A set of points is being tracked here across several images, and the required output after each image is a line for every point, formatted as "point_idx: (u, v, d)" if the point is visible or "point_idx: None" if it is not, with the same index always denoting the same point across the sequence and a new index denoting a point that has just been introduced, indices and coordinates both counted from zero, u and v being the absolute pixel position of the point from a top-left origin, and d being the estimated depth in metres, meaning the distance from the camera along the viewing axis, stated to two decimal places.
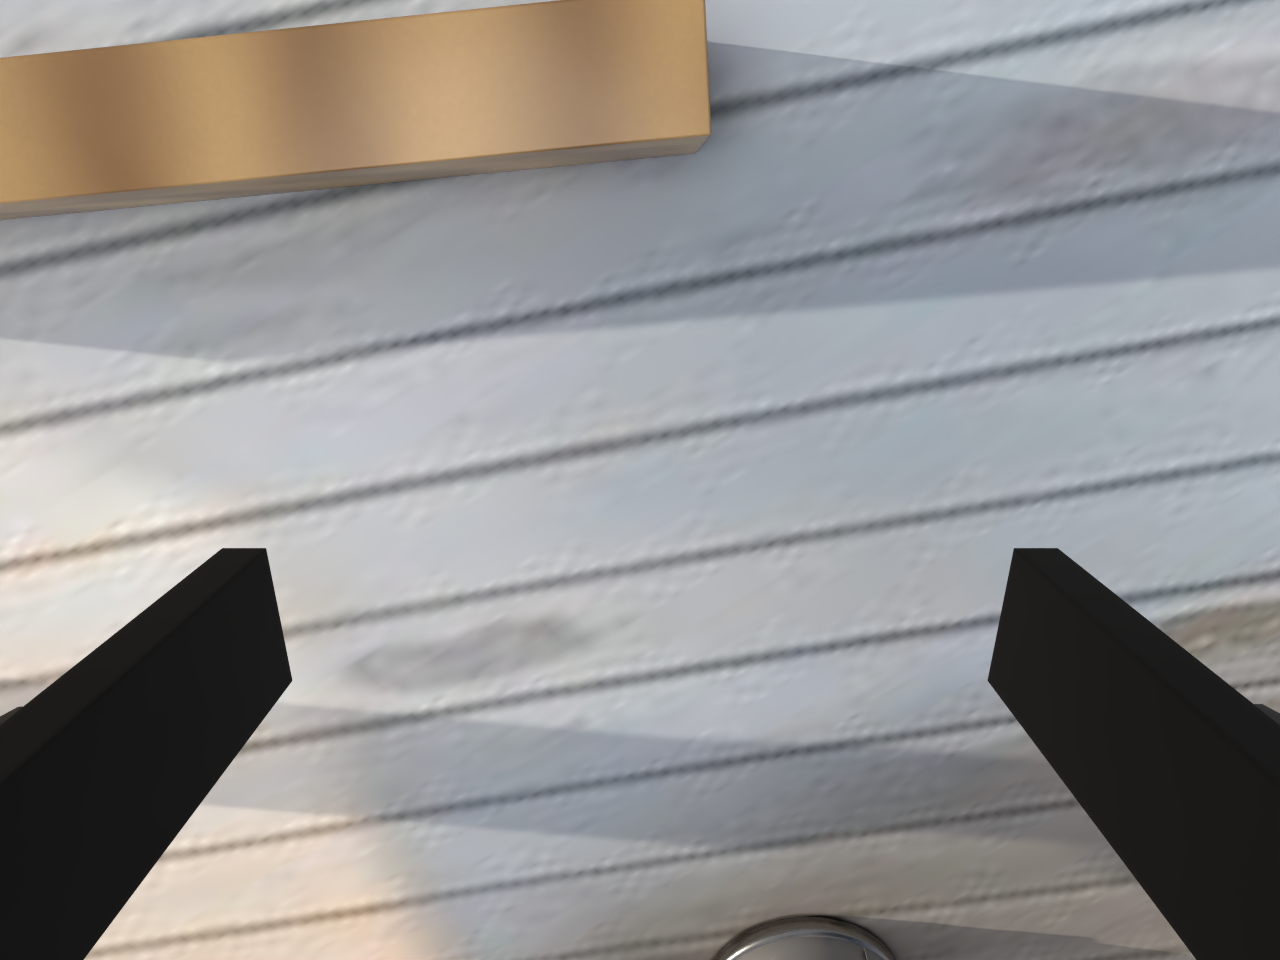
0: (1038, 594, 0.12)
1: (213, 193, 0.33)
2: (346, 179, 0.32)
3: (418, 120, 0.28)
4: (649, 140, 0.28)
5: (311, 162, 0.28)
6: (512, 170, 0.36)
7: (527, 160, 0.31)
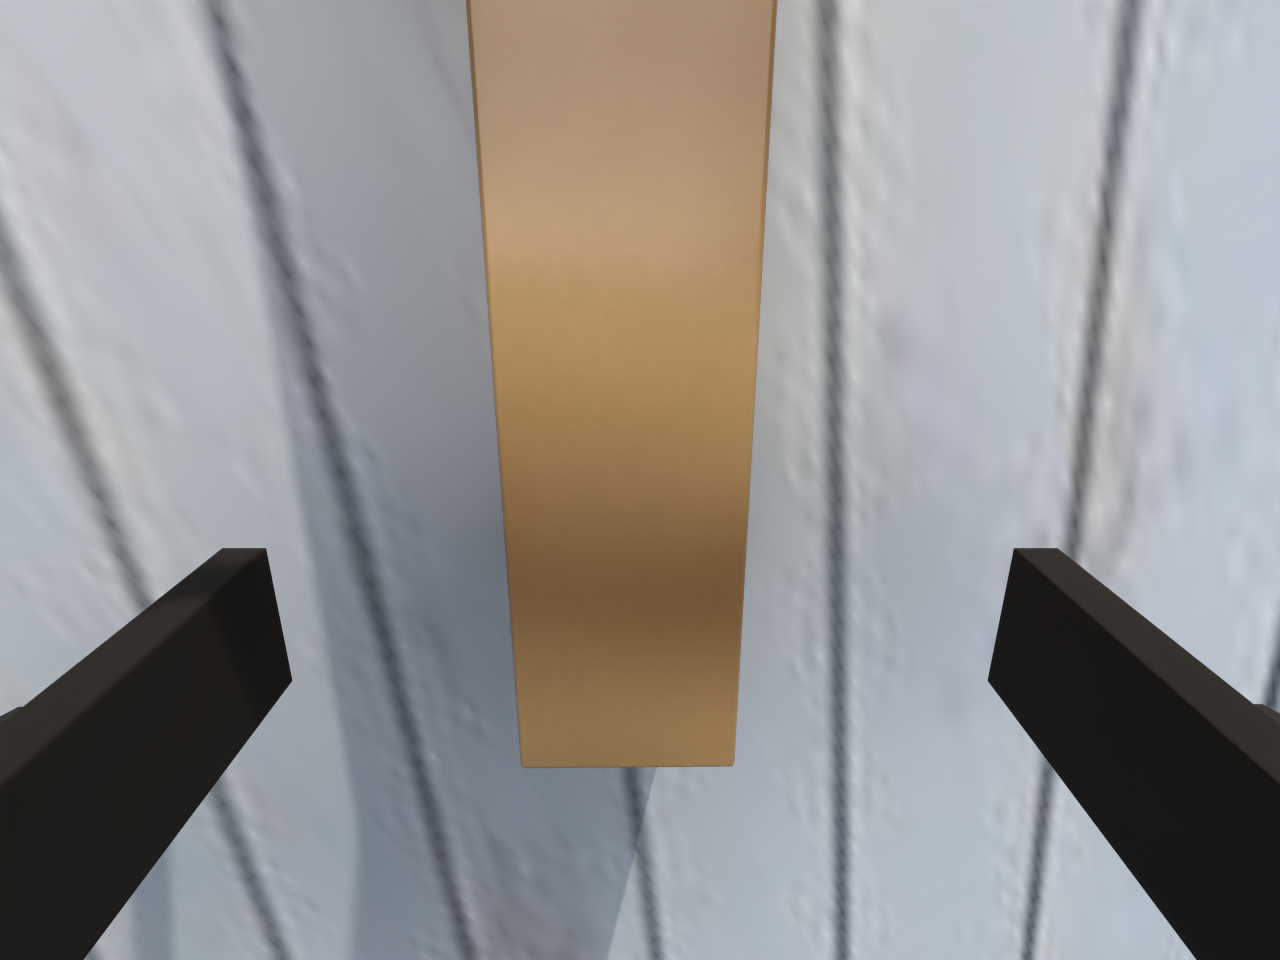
0: (1037, 594, 0.12)
1: None
2: None
3: (568, 265, 0.13)
4: (516, 680, 0.16)
5: None
6: None
7: None
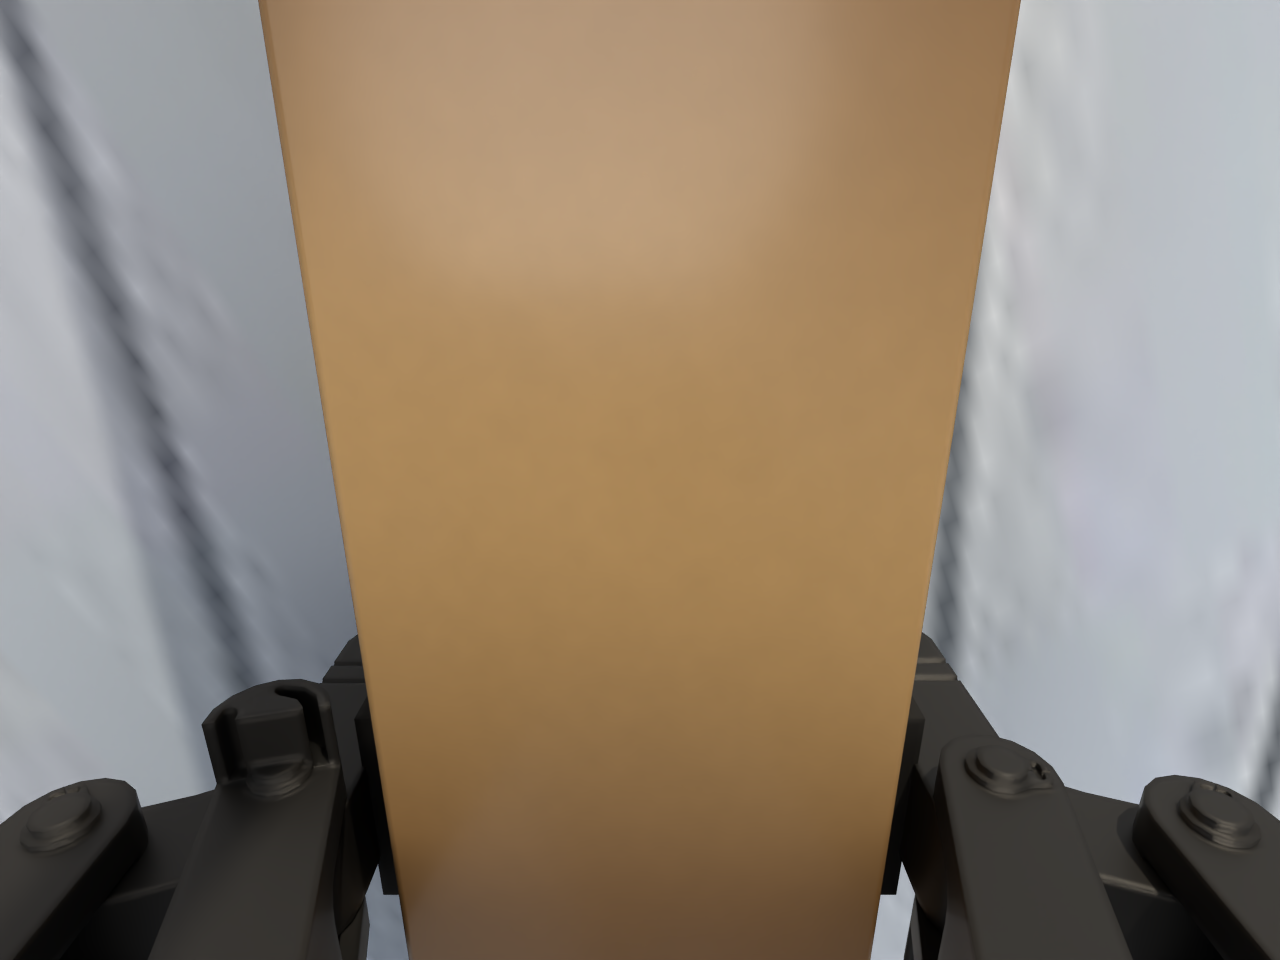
0: None
1: None
2: None
3: (507, 337, 0.05)
4: None
5: None
6: None
7: None
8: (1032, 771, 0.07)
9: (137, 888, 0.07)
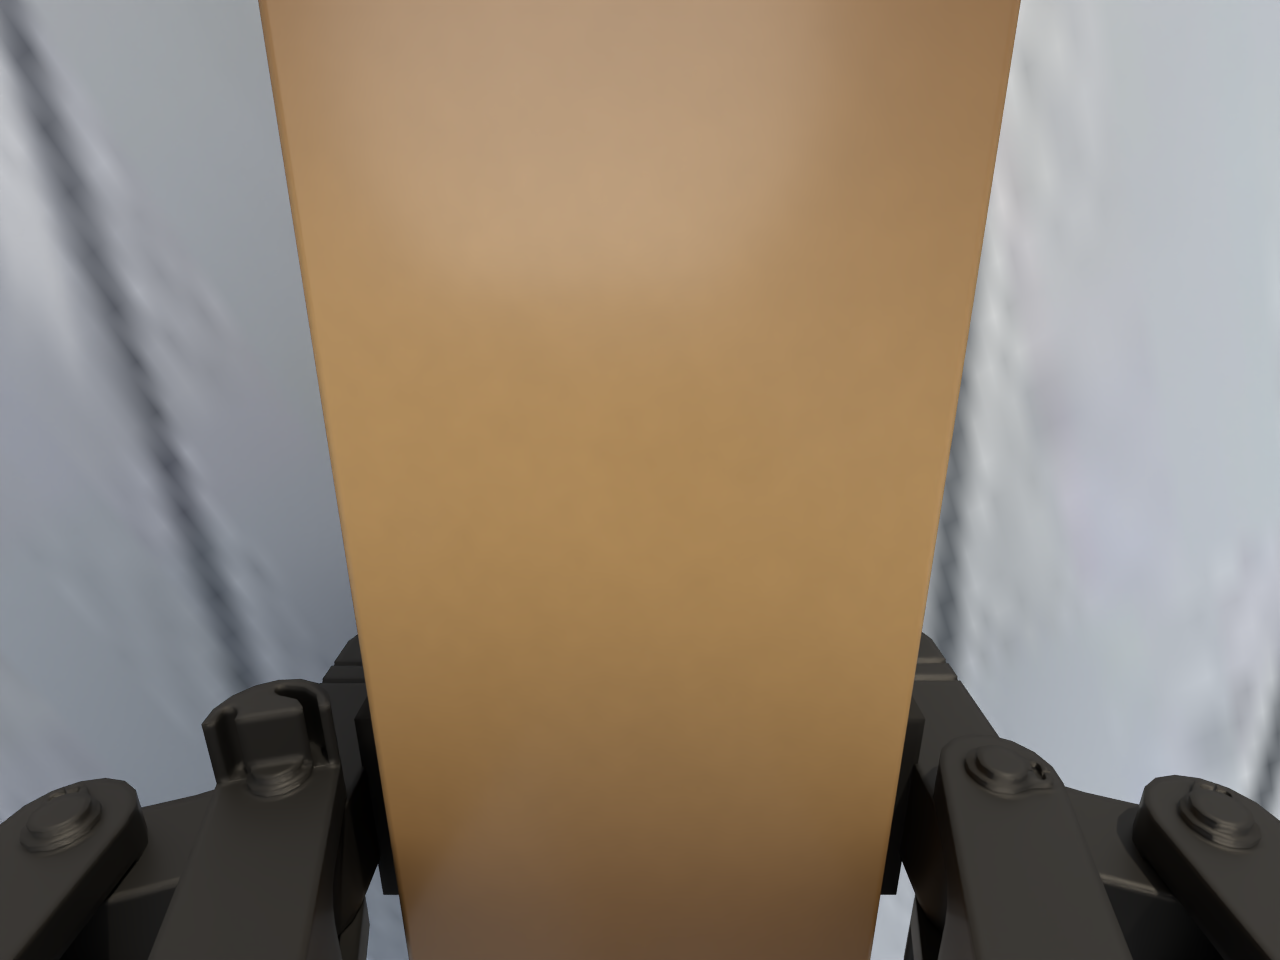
0: None
1: None
2: None
3: (507, 337, 0.05)
4: None
5: None
6: None
7: None
8: (1032, 771, 0.07)
9: (137, 888, 0.07)
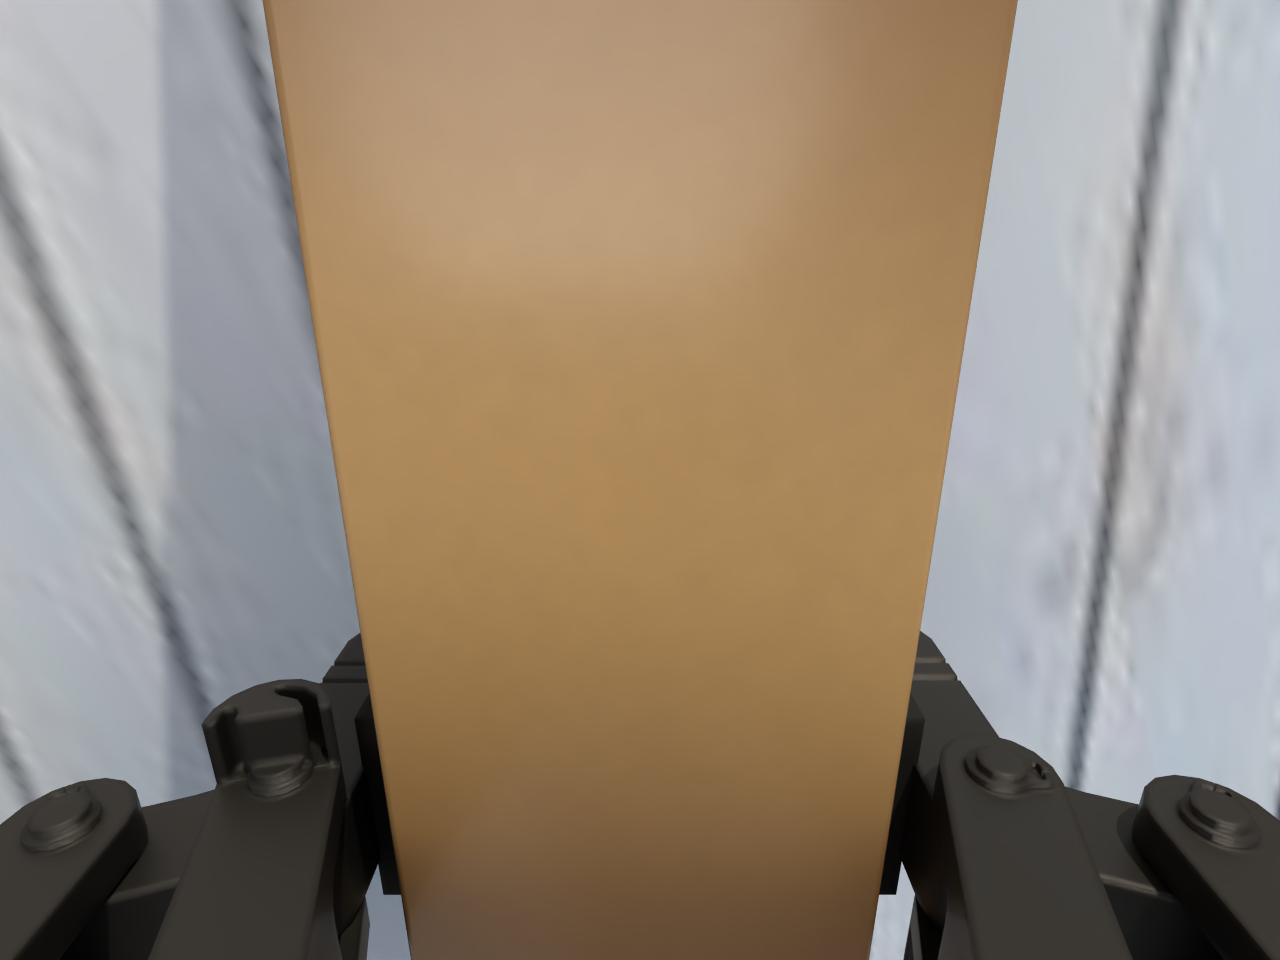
0: None
1: None
2: None
3: (508, 336, 0.05)
4: None
5: None
6: None
7: None
8: (1032, 771, 0.07)
9: (137, 888, 0.07)
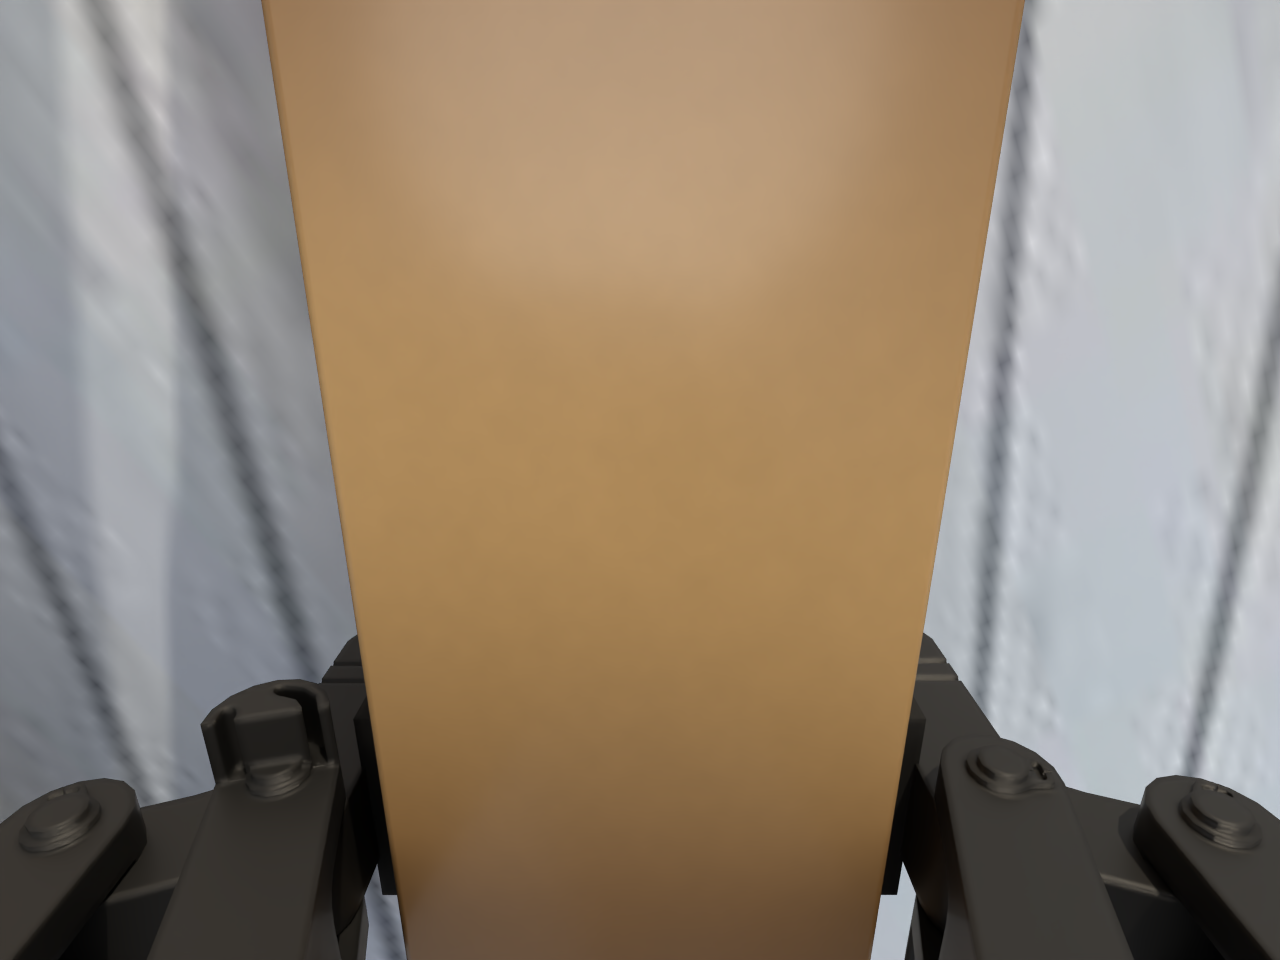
0: None
1: None
2: None
3: (508, 336, 0.05)
4: None
5: None
6: None
7: None
8: (1033, 772, 0.07)
9: (135, 888, 0.07)
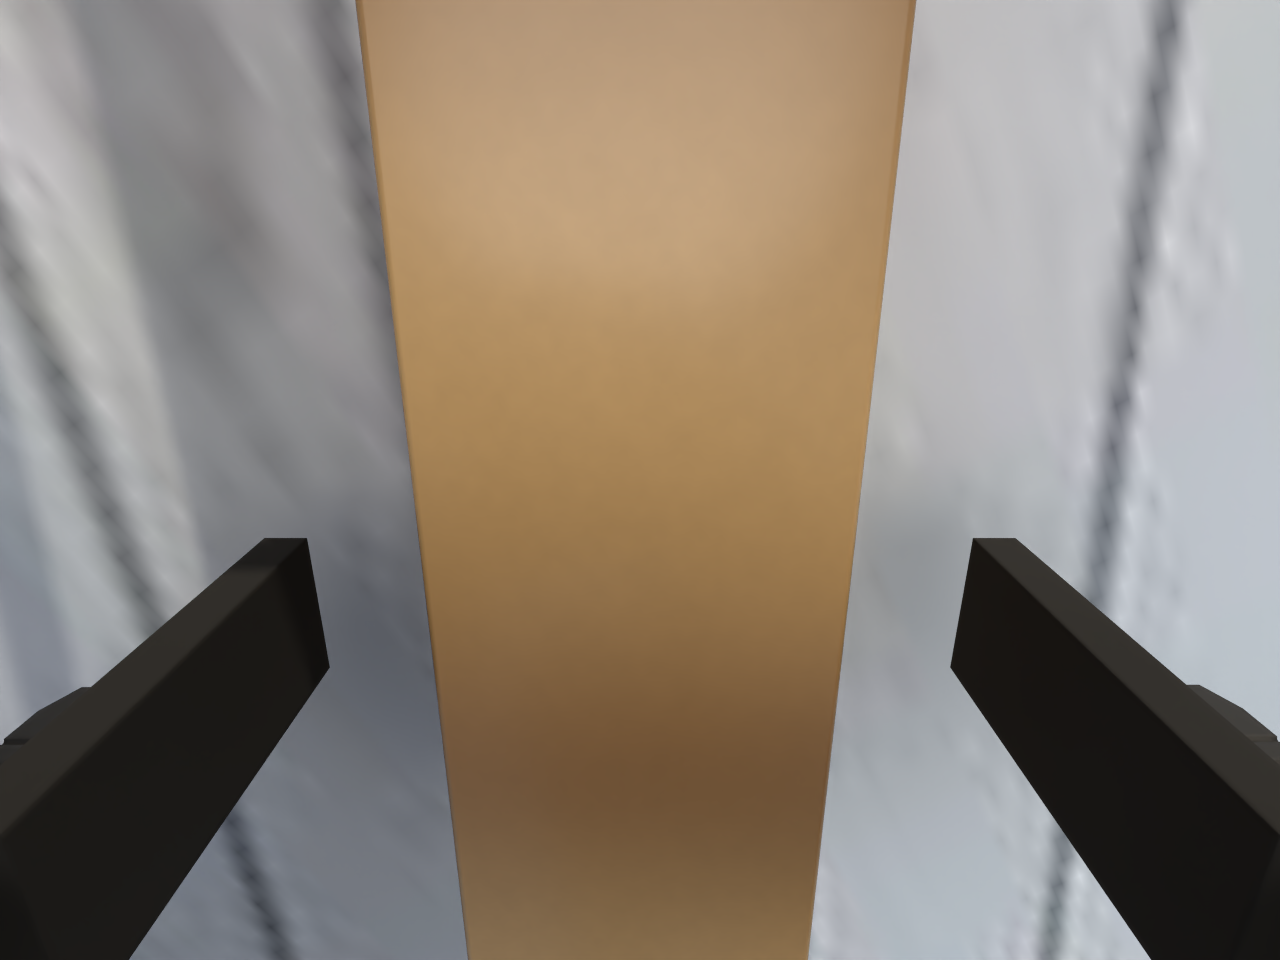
0: (994, 581, 0.12)
1: None
2: None
3: (535, 235, 0.07)
4: (462, 899, 0.10)
5: None
6: None
7: None
8: None
9: None
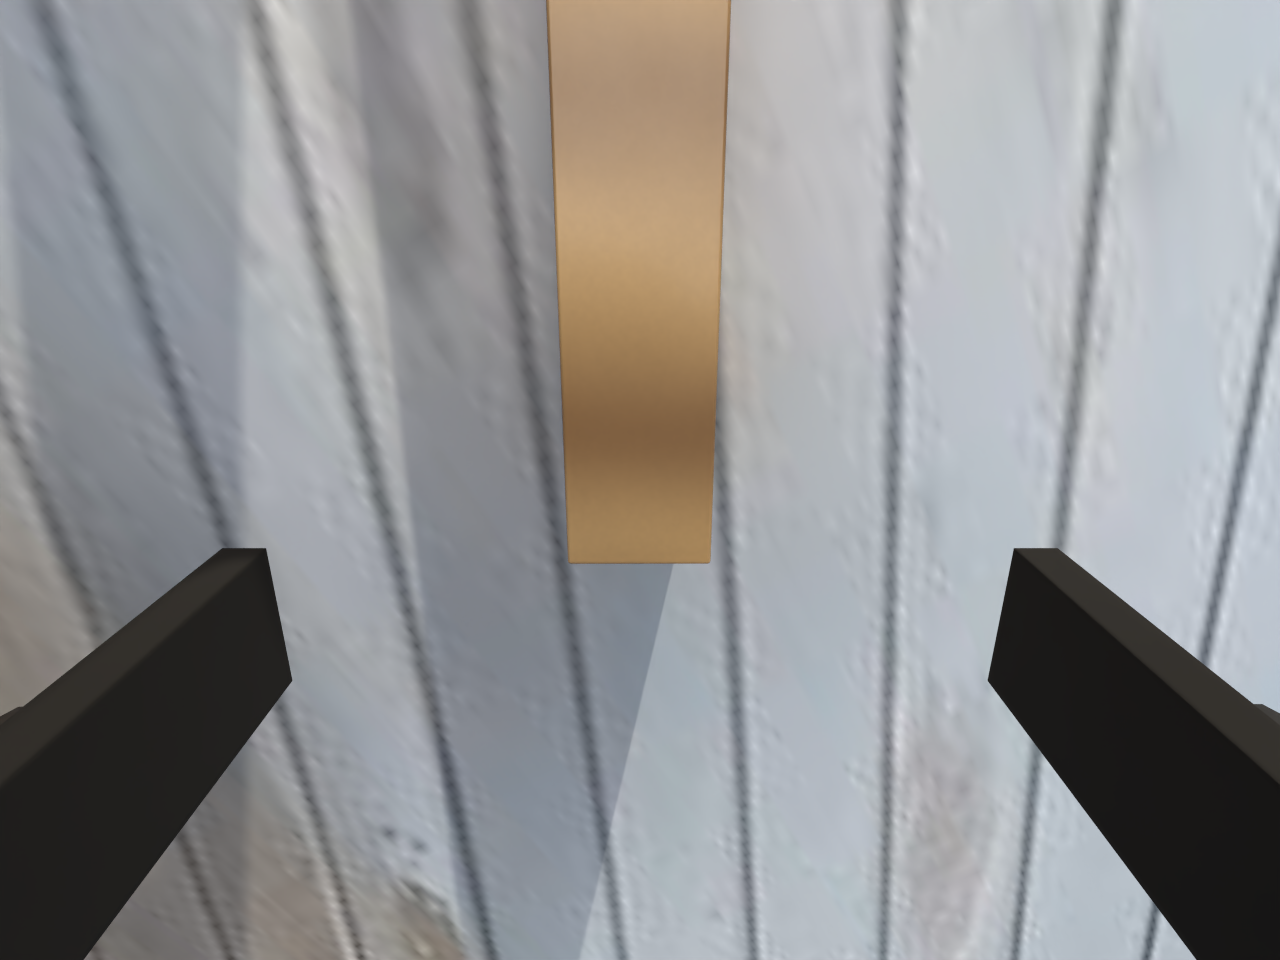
0: (1038, 594, 0.12)
1: None
2: None
3: (605, 222, 0.21)
4: (566, 499, 0.24)
5: (562, 48, 0.20)
6: None
7: None
8: None
9: None
